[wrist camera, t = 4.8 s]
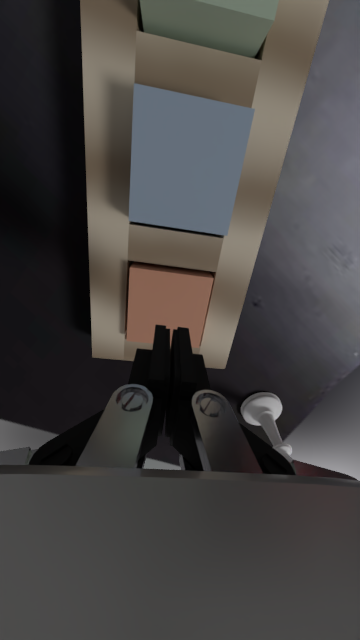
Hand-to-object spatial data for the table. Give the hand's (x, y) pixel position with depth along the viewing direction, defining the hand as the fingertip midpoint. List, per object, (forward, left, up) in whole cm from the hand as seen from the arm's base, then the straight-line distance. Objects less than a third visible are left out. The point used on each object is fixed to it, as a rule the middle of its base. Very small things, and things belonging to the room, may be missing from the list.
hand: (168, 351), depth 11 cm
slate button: (-9, 0, -8) cm, 12 cm away
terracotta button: (0, 0, -9) cm, 9 cm away
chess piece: (+13, +13, -10) cm, 21 cm away
